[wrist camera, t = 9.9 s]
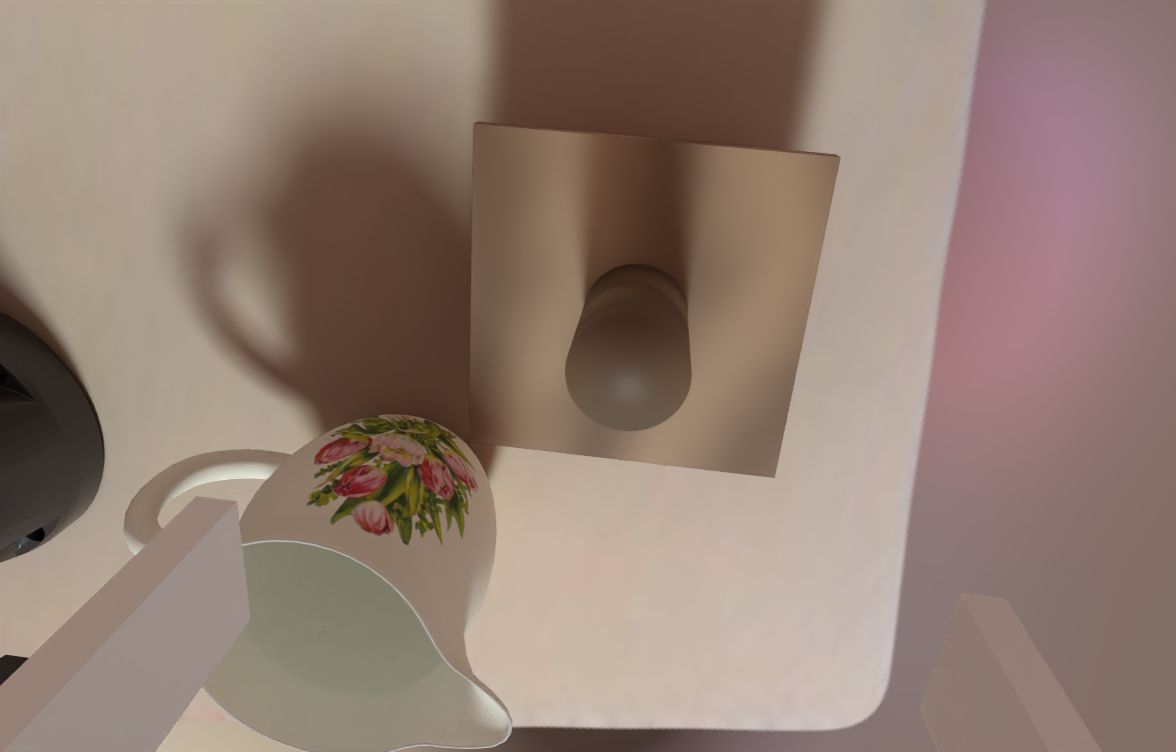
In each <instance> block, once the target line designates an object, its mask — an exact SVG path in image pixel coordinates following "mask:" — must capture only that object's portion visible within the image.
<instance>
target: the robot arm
mask: <svg viewBox="0 0 1176 752" xmlns="http://www.w3.org/2000/svg"><path fill="white" fill-rule="evenodd" d="M102 473H103V447H102V440H101V436H100V431H99V428H98V425H97V421H96V419H95V416H94V414H93V411H92V409H91V407H90V405H89V402H88V400H87V399H86V397H85V395H84V393H83V391H82V390H81V388H80V387H79V385H78V383H77V382H76V381H75V379H74V378H73V376H72V375H71V373H70V372H69V371H68V370H67V368H66V367H65V366H64V365H63V364H62V362H61V361H60V360H59V359H58V358H57V357H56V356H55V355H54V354H53V353H52V352H51V351H50V350H49V349H48V348H47V347H46V346H45V345H44V344H43V343H42V342H41V341H40V340H39V339H37V338H36V337H35V336H34V335H33V334H31V333H30V332H29V331H28V330H26V329H25V328H23V327H22V326H21V325H19V324H18V323H16V322H15V321H13V320H12V319H10V318H9V317H7V316H5V315H3V314H2V313H0V563H1V562H3V561H6V560H9V559H12V558H14V557H17V556H19V555H22V554H25V553H27V552H30V551H32V550H34V549H36V548H38V547H40V546H42V545H43V544H45V543H47V542H48V541H50V540H51V539H52V538H54V537H55V536H56V535H58V534H59V533H60V532H61V531H63V530H64V529H65V528H67V527H68V526H69V525H70V524H72V523H73V522H74V521H75V520H77V519H78V518H79V517H80V516H81V515H82V514H83V513H84V512H85V511H86V510H87V509H88V507H89V506H90V505H91V503H92V502H93V500H94V498H95V496H96V494H97V492H98V489H99V486H100V483H101V478H102ZM249 620H250V610H249V601H248V593H247V584H246V575H245V567H244V558H243V550H242V541H241V532H240V524H239V515H238V506H237V501H230V500H222V499H214V498H206V497H198V496H196V497H195V498H194V499H193V500H192V501H191V502H190V503H189V504H188V505H187V506H186V507H185V508H184V509H183V510H182V511H181V512H180V513H179V514H178V515H177V516H176V517H175V518H174V519H172V520H171V521H170V522H169V523H168V524H167V525H166V526H165V527H164V528H163V529H162V530H161V531H160V532H159V533H158V534H157V535H156V536H155V537H154V538H153V539H152V540H151V541H150V542H149V543H148V544H147V545H146V546H145V547H144V548H142V549H141V550H140V551H139V552H138V553H137V554H136V555H135V556H134V557H133V558H132V559H131V560H130V561H129V562H128V563H127V564H126V565H125V566H124V567H123V568H122V569H121V570H120V571H119V572H118V573H117V574H116V575H115V576H114V577H112V578H111V579H110V580H109V581H108V582H107V583H106V584H105V585H104V586H103V587H102V588H101V589H100V590H99V591H98V592H97V593H96V594H95V595H94V596H93V597H92V598H91V599H90V600H89V601H88V602H87V603H86V604H85V605H83V606H82V607H81V608H80V609H79V610H78V611H77V612H76V613H75V614H74V615H73V616H72V617H71V618H70V619H69V620H68V621H67V622H66V623H65V624H64V625H63V626H62V627H61V628H60V629H59V630H58V631H57V632H56V633H55V634H53V635H52V636H51V637H50V638H49V639H48V640H47V641H46V642H45V643H44V644H43V645H42V646H41V647H40V648H39V649H38V650H37V651H36V652H35V653H34V654H33V655H32V656H31V657H30V658H26V657H19V656H11V655H5V656H3V657H1V658H0V752H155V751H156V750H157V748H158V747H159V745H160V744H161V743H162V741H163V740H164V739H165V737H166V736H167V735H168V733H169V732H170V730H171V729H172V728H173V726H174V724H175V723H176V722H177V721H178V719H179V718H180V716H181V715H182V714H183V712H184V711H185V709H186V708H187V707H188V705H189V704H190V702H191V701H192V700H193V698H194V697H195V696H196V694H197V693H198V691H199V690H200V689H201V687H202V686H203V684H204V683H205V682H206V680H207V679H208V677H209V676H210V675H211V673H212V672H213V670H214V669H215V668H216V666H217V665H218V663H219V662H220V661H221V659H222V658H223V656H224V655H225V654H226V652H227V651H228V649H229V648H230V647H231V645H232V644H233V643H234V641H235V640H236V638H237V637H238V636H239V634H240V633H241V631H242V630H243V629H244V627H245V626H246V624H247V623H248V622H249ZM919 708H920V710H921V713H922V716H923V718H924V721H925V723H926V726H927V728H928V731H929V733H930V735H931V738H932V741H933V743H934V746H935V748H936V751H937V752H1102V751H1101V750H1100V748H1099V747H1098V745H1097V743H1096V742H1095V740H1094V739H1093V737H1092V736H1091V734H1090V732H1089V731H1088V729H1087V728H1086V726H1085V724H1084V723H1083V721H1082V720H1081V718H1080V716H1079V715H1078V713H1077V712H1076V710H1075V709H1074V707H1073V705H1072V704H1071V702H1070V701H1069V699H1068V698H1067V696H1066V694H1065V693H1064V691H1063V690H1062V688H1061V686H1060V685H1059V683H1058V682H1057V680H1056V678H1055V677H1054V675H1053V674H1052V672H1051V671H1050V669H1049V667H1048V666H1047V664H1046V663H1045V661H1044V660H1043V658H1042V656H1041V655H1040V653H1039V652H1038V650H1037V648H1036V647H1035V645H1034V644H1033V642H1032V641H1031V639H1030V637H1029V636H1028V634H1027V633H1026V631H1025V629H1024V628H1023V626H1022V625H1021V623H1020V621H1019V620H1018V618H1017V617H1016V615H1015V614H1014V612H1013V610H1012V609H1011V607H1010V606H1009V604H1008V602H1007V601H1006V599H1004V598H997V597H989V596H981V595H974V594H966V593H961V594H960V597H959V599H958V602H957V605H956V608H955V610H954V613H953V616H952V619H951V621H950V624H949V627H948V630H947V633H946V635H945V638H944V641H943V644H942V647H941V649H940V652H939V655H938V657H937V661H936V663H935V666H934V669H933V671H932V674H931V677H930V680H929V683H928V685H927V688H926V691H925V693H924V696H923V699H922V702H921V705H920V707H919Z"/></svg>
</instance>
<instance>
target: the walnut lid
mask: <svg viewBox="0 0 1176 752" xmlns="http://www.w3.org/2000/svg"><path fill="white" fill-rule="evenodd" d="M839 162H840V157H839V156H838V155H836V154H826V153H815V152H804V151H793V150H782V149H771V148H760V147H749V146H738V145H727V144H716V143H706V142H695V141H684V140H673V139H662V138H651V137H640V136H629V135H618V134H607V133H596V132H586V131H575V130H564V129H553V128H542V127H531V126H520V125H509V124H498V123H487V122H477V123H474V127H473V189H472V252H471V315H470V378H469V441H468V442H473V443H482V444H490V445H499V446H507V447H516V448H524V449H533V450H541V451H550V452H559V453H567V454H576V455H584V456H593V457H601V458H610V459H618V460H627V461H635V462H644V463H652V464H661V465H669V466H678V467H687V468H695V469H704V470H712V471H721V472H729V473H738V474H746V475H755V476H763V477H772V478H775V474H776V469H777V464H778V459H779V454H780V449H781V444H782V440H783V435H784V430H785V425H786V420H787V415H788V410H789V406H790V401H791V396H792V391H793V386H794V381H795V376H796V371H797V367H798V362H799V357H800V352H801V347H802V342H803V337H804V333H805V328H806V323H807V318H808V313H809V308H810V303H811V298H812V294H813V289H814V284H815V279H816V274H817V269H818V264H819V260H820V255H821V250H822V245H823V240H824V235H825V230H826V226H827V221H828V216H829V211H830V206H831V201H832V196H833V191H834V187H835V182H836V177H837V172H838V167H839Z"/></svg>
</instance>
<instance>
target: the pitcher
mask: <svg viewBox="0 0 1176 752" xmlns="http://www.w3.org/2000/svg"><path fill="white" fill-rule="evenodd" d="M242 478H257V479H267V480H266V481H265V482H264V483H263V484H262V486H261V487H260V488H259V490H258V491H257V492H256V494H255V495H254V497H253V498H252V500H251V501H250V503H249V504H248V506H247V508H246V510H245V511H244V513H243V515H242V517H241V520H240V522H239V524H240V532H241V541H242V550H243V558H244V567H245V575H246V584H247V593H248V601H249V610H250V620H249V622H248V623H247V624H246V626H245V627H244V629H243V630H242V631H241V633H240V634H239V636H238V637H237V638H236V640H235V641H234V643H233V644H232V645H231V647H230V648H229V649H228V651H227V652H226V654H225V655H224V656H223V658H222V659H221V661H220V662H219V663H218V665H217V666H216V668H215V669H214V670H213V672H212V673H211V675H210V676H209V677H208V679H207V680H206V682H205V683H204V684H203V686H202V687H201V688H202V689H203V691H204V692H205V693H206V694H207V695H208V696H209V697H210V698H211V699H212V700H213V701H214V702H215V703H216V704H217V705H218V706H219V707H220V708H221V709H223V710H224V711H225V712H226V713H227V714H228V715H230V716H231V717H233V718H234V719H235V720H237V721H238V722H240V723H241V724H243V725H244V726H246V727H248V728H249V729H251V730H253V731H255V732H256V733H258V734H260V735H262V736H264V737H267V738H269V739H271V740H273V741H276V742H279V743H281V744H283V745H286V746H289V747H292V748H295V749H298V750H302V751H306V752H393V751H397V750H400V749H404V748H409V747H414V746H425V745H429V746H436V747H445V748H461V749H478V748H487V747H494V746H496V745H498V744H500V743H503V742H505V741H506V739H507V738H508V736H509V735H510V734H511V729H512V719H511V717H510V715H509V712H508V710H507V708H506V707H505V705H504V704H503V703H502V701H501V700H500V699H499V698H498V697H497V696H496V695H495V694H494V692H493V691H492V690H491V689H490V688H488V687H487V686H486V685H485V684H484V683H482V682H481V681H480V680H479V679H478V678H477V677H476V676H475V675H474V674H473V672H472V669H471V667H470V664H469V661H468V658H467V655H466V649H465V641H464V637H465V636H466V634H467V633H468V631H469V630H470V628H471V626H472V624H473V622H474V620H475V618H476V616H477V614H478V611H479V609H480V607H481V604H482V602H483V599H484V597H485V594H486V590H487V587H488V584H489V580H490V576H491V572H492V567H493V562H494V556H495V546H496V514H495V506H494V500H493V496H492V491H491V488H490V484H489V481H488V479H487V476H486V473H485V471H484V469H483V467H482V466H481V464H480V462H479V460H478V459H477V457H476V456H475V454H474V453H473V451H472V450H471V449H470V448H469V447H468V446H467V444H466V443H465V442H464V441H463V440H461V439H460V438H459V437H458V436H457V435H456V434H454V433H453V432H451V431H450V430H448V429H447V428H445V427H443V426H441V425H439V424H437V423H435V422H432V421H430V420H427V419H424V418H420V417H417V416H410V415H397V414H388V415H377V416H373V417H368V418H364V419H359V420H356V421H353V422H350V423H347V424H345V425H342V426H339V427H337V428H335V429H333V430H331V431H329V432H326V433H325V434H323V435H321V436H319V437H317V438H315V439H314V440H312V441H311V442H309V443H308V444H306V445H305V446H303V447H302V448H301V449H299V450H298V451H297V452H295V453H294V454H293V455H291V454H286V453H280V452H274V451H265V450H250V449H242V450H226V451H216V452H210V453H204V454H200V455H197V456H193V457H190V458H187V459H185V460H182V461H180V462H178V463H176V464H173V465H172V466H170V467H169V468H167V469H165V470H164V471H162V472H161V473H159V474H158V475H156V476H155V477H154V478H153V479H152V480H150V481H149V482H148V483H147V484H146V485H145V486H144V487H142V488H141V489H140V491H139V492H138V493H137V494H136V496H135V497H134V498H133V499H132V500H131V503H130V505H129V507H128V509H127V511H126V515H125V522H124V537H125V541H126V544H127V546H128V547H129V549H130V550H131V551H132V552H133V554H134V555H136V554H137V553H138V552H139V551H140V550H141V549H142V548H144V547H145V546H146V545H147V544H148V543H149V542H150V541H151V540H152V539H153V538H154V537H155V536H156V535H157V534H158V533H159V532H160V531H161V530H162V528H161V527H160V526H159V524H158V521H157V520H158V517H159V515H160V513H161V512H162V510H163V509H164V507H165V506H166V505H167V504H168V503H169V502H170V501H172V500H173V499H174V498H175V497H177V496H178V495H180V494H181V493H183V492H184V491H186V490H188V489H190V488H193V487H195V486H197V485H201V484H204V483H208V482H213V481H219V480H228V479H242Z"/></svg>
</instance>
